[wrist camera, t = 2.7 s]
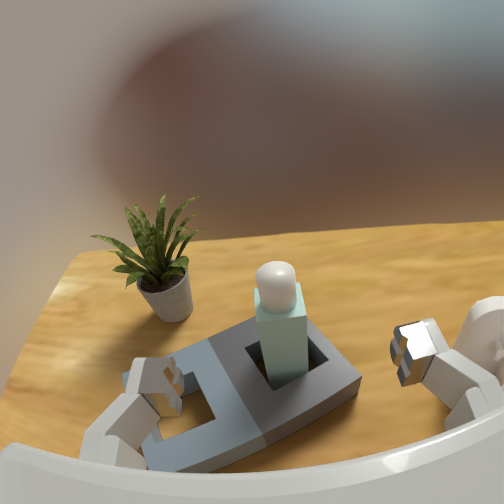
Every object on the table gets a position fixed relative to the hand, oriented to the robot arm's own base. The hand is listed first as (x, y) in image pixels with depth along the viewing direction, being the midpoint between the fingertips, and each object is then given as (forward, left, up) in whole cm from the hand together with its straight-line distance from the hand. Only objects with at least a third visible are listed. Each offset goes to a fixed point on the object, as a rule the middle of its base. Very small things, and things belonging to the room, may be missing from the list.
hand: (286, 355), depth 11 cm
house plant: (+1, -27, -20) cm, 34 cm away
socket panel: (+1, -11, -20) cm, 23 cm away
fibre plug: (-5, -11, -20) cm, 23 cm away
